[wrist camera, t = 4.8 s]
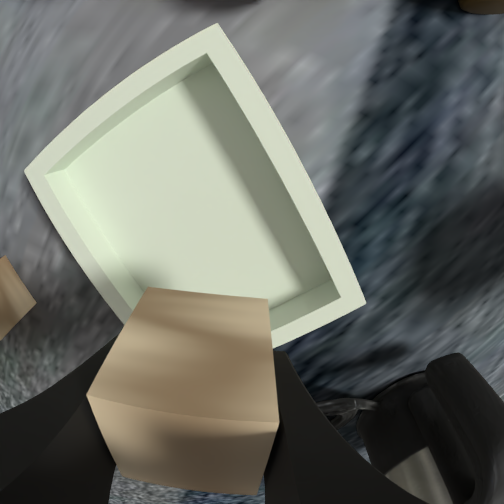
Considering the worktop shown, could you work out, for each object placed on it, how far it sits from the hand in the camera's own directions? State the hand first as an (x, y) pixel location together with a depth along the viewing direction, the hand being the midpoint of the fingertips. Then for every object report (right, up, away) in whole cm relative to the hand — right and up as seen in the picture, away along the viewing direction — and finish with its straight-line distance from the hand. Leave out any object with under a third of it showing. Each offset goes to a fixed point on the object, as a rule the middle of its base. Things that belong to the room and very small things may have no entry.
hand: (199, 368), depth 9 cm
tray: (-1, +5, +6) cm, 8 cm away
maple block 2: (0, +1, +1) cm, 2 cm away
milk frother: (+11, -9, +12) cm, 18 cm away
